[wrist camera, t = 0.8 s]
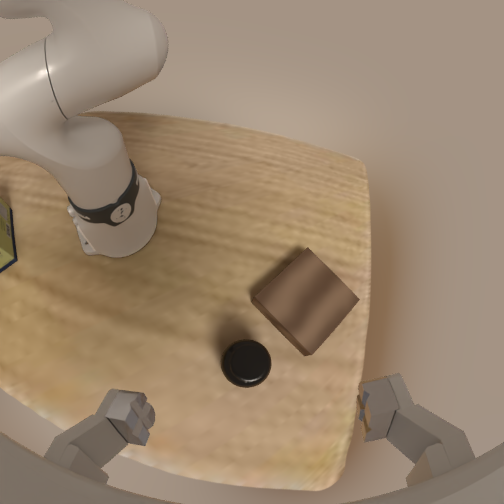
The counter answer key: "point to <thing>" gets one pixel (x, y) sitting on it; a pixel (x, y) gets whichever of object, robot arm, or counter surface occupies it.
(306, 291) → the walnut stand
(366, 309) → the counter surface
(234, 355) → the supplement bottle
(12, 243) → the protein box
